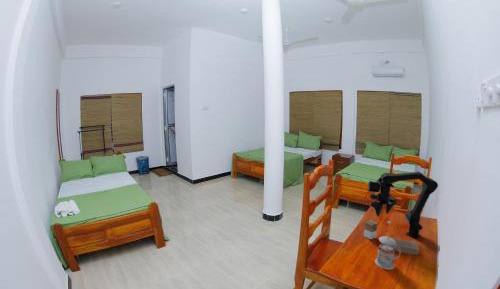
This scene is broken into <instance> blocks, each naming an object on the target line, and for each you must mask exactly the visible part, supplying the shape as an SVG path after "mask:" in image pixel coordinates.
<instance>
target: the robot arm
mask: <svg viewBox="0 0 500 289" xmlns="http://www.w3.org/2000/svg"><path fill="white" fill-rule="evenodd" d="M411 180H419V181H420V182H422V184H421V191H420V194H419V196H418V197H417V200H416V201H415V204H414V206H413V208H412V209H411V210H407V211H406V214H405V220H406V221H407V223H408V224H409V227H408V232H406V233H405V234H406V235H407V236H409V237H412V238H413V239H418V238H420V237H422V235H421V234H420V231H422V229H423V225H421V223H420V221H421V214H422V212H423V209H424V207H425V205H426V203H427V201H428V199H429V197H430V195H431V194H433V193H434V192H435V191H436V190H437V188H438V187H439V183H438V182H437V181H436V180H434V179H433V178H431V177H427V176H425V175H424V174H423V173H422V172H420V171H414V172H413V171H412V172H402V173H392V172H383V173H382V174H381V175H380V177H378V179H377V180H376V181H371V180H369V181H368V184H367V192H370V193H371V192H372V193H371V194H370V195H369V198H370V199H371V200H372V201H371V202H370V207H372V208H373V209H374V211H375V214H376V216H377V217H378V218H379V216H380V215H381V213H382V211H383V207H384V205H385V214H389V213H390V212H391V210H392V209H393V207H395V206H396V204H397V203H398V202H397V199H396V198H394V197H392V194H391V188H395V186H394V183H396V182H401V181H411ZM373 200H374V201H373Z"/></svg>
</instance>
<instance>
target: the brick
mask: <svg viewBox="0 0 500 289" xmlns="http://www.w3.org/2000/svg"><path fill="white" fill-rule="evenodd" d="M391 238H392V239H393V240H395V242H396V244H395V245H397V246H398V247H399V248H400V249H399V248H398V247H397V246H396V247H397V248H398V249H399V250H398V249H397V248H396V247H395V245H393V246H392V247H393V248H394V247H395V249H394V252H396V253H397V252H398V253H400V252H399V251H400V250H401V253H403V254H407V255H412V256H413V255H414V256H418V255H419V253H420V248H419V246H418V243H417V242H416V241H413V240H406V239H404V240H403V239H400V238H394V237H391Z"/></svg>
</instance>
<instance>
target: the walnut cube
mask: <svg viewBox="0 0 500 289" xmlns="http://www.w3.org/2000/svg"><path fill="white" fill-rule="evenodd" d="M365 229H366V230H368V231H370V232H374V231H376V232H377V230H378V223H377V222H375V221H373V220H371V219H369V220H366V221H365V222H364V230H365Z"/></svg>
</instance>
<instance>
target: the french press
mask: <svg viewBox="0 0 500 289" xmlns="http://www.w3.org/2000/svg"><path fill="white" fill-rule="evenodd" d="M387 224H388V226H390V225H392V221H390V220H388V221H387ZM389 230H390V229H388V231H387V234H389V232H390V231H389ZM392 238H393V237H389V236H380V237H379V238H378V240H379V242H380V243H381V244H379V246H378V249H377V258H375V259H374V263H375V264H376V265H377V267H379V268H382V269H383V270H384V269H385V270H394V269H395V268H396V266H395V263H394V262H395V259H396V260H398V259H399V258H400V257H401V253H402V252H401V250H400V251H399V252H398V253H399V255H398V256H395V251H394V249H395V247H396V246H397V245H395V244H396V242H395V240H393V239H392ZM393 245H395V247H394V248H393V247H392V246H393ZM397 247H398V246H397ZM397 247H396V248H397ZM398 248H399V247H398ZM398 248H397V249H398ZM399 249H400V248H399ZM399 249H398V250H399Z"/></svg>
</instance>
